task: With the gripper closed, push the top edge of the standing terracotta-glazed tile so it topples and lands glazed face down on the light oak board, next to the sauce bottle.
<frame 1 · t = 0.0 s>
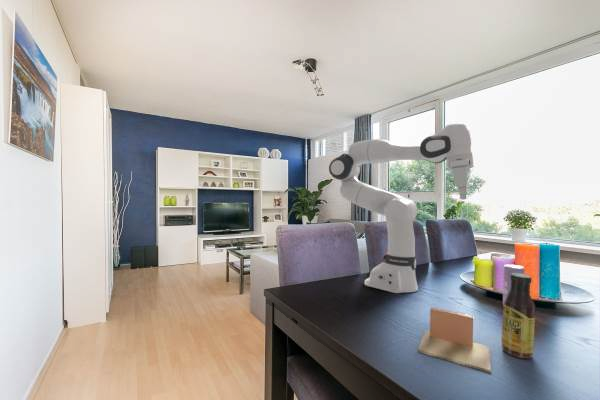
hand: (463, 199, 107), 39 cm above the table, tool pointing down, fingers open, 8 cm apart
tile: (451, 312, 73), point 8 cm above the table, touching oak board
sauce bottle: (517, 354, 68), on the table
oak board: (453, 350, 69), on the table
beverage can: (513, 308, 98), on the table
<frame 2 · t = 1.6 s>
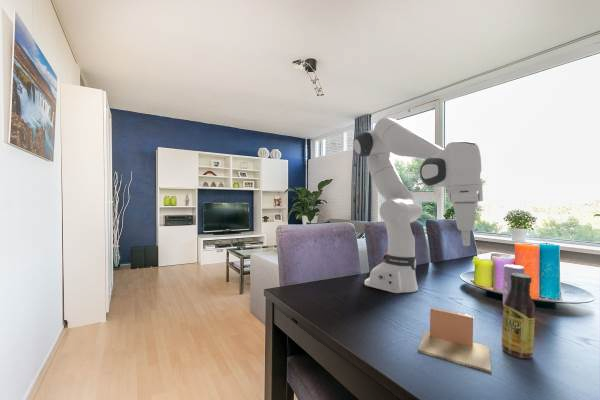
hand: (466, 243, 79), 26 cm above the table, tool pointing down, fingers open, 8 cm apart
nothing on the table moved.
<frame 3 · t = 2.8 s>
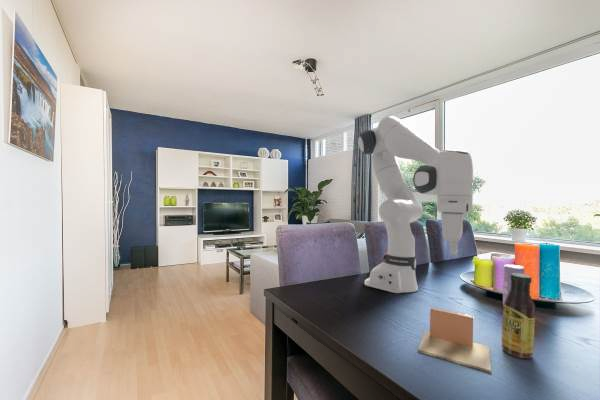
hand: (453, 253, 78), 23 cm above the table, tool pointing down, fingers closed
nothing on the table moved.
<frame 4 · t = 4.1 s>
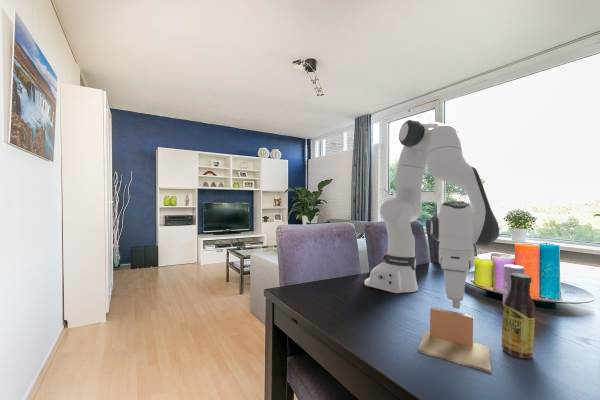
hand: (456, 306, 78), 8 cm above the table, tool pointing down, fingers closed
nothing on the table moved.
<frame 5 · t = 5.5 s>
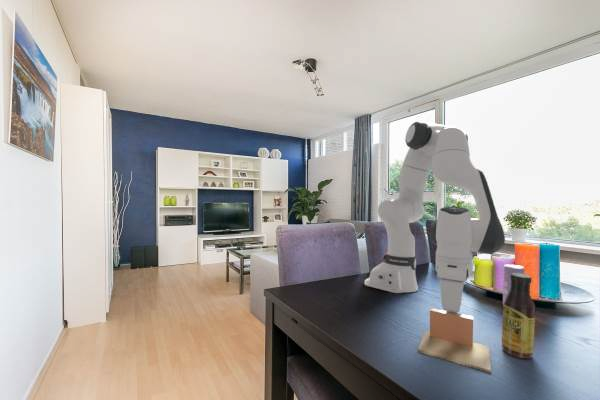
hand: (452, 317, 74), 6 cm above the table, tool pointing down, fingers closed
tile: (450, 313, 72), point 8 cm above the table, tilted 8°, touching gripper, oak board
everything else where it was.
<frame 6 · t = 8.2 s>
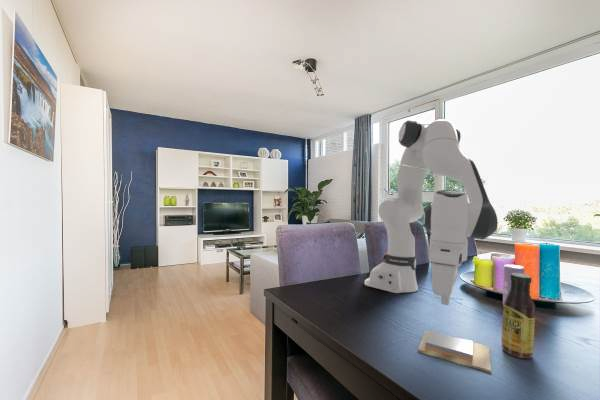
hand: (445, 303, 72), 11 cm above the table, tool pointing down, fingers closed
tile: (448, 351, 66), point 1 cm above the table, tilted 90°, touching oak board
everything else where it was.
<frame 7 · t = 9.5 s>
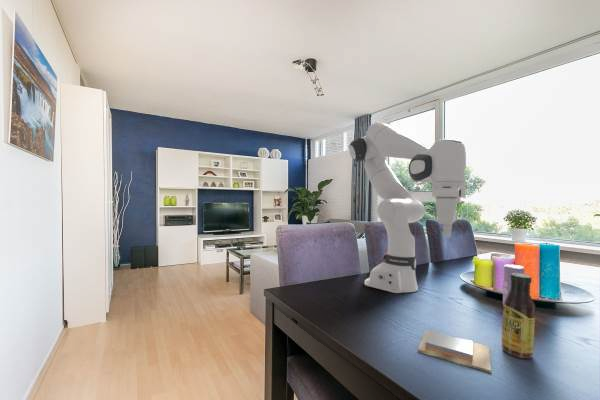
hand: (447, 237, 83), 27 cm above the table, tool pointing down, fingers closed
nothing on the table moved.
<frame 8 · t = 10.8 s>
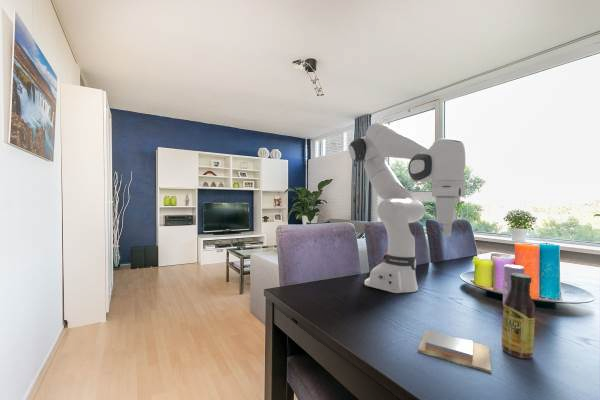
hand: (447, 236, 83), 27 cm above the table, tool pointing down, fingers closed
nothing on the table moved.
at the end: tile tilted 90°; tile inside the target area (1.0 cm from its centre), point 1.4 cm above the table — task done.
